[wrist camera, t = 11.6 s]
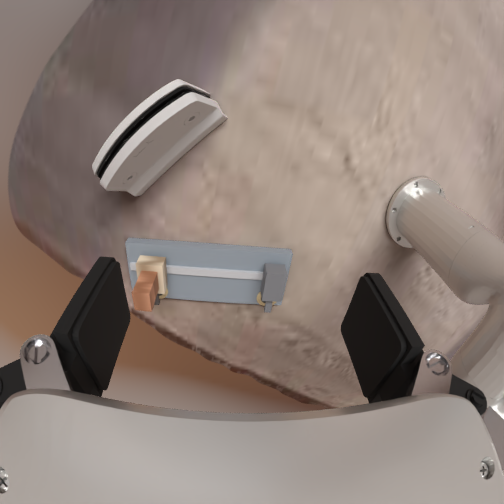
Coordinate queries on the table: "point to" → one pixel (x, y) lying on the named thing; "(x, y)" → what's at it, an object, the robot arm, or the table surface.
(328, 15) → the table surface
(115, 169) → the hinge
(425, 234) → the robot arm
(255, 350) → the table surface
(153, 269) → the block
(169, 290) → the gauge board
